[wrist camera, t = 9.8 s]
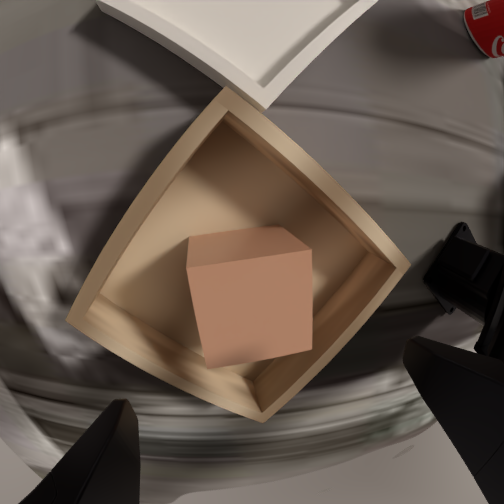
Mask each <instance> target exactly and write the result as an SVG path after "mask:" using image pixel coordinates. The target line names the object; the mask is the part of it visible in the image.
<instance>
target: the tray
mask: <svg viewBox="0 0 504 504" xmlns="http://www.w3.org/2000/svg"><path fill="white" fill-rule="evenodd" d="M95 1H96V3H97V5H98V6H99V8H100V9H101V11H102V12H104V13H106V14H108V15H110V16H112V17H114V18H115V19H117V20H119V21H121V22H123V23H125V24H126V25H128V26H130V27H132V28H133V29H135V30H137V31H139V32H140V33H142V34H144V35H145V36H147V37H149V38H150V39H152V40H154V41H155V42H157V43H158V44H160V45H162V46H163V47H165V48H166V49H168V50H169V51H171V52H173V53H174V54H176V55H177V56H179V57H180V58H182V59H183V60H185V61H186V62H188V63H189V64H190V65H192V66H193V67H195V68H196V69H198V70H199V71H201V72H202V73H203V74H205V75H206V76H208V77H209V78H210V79H212V80H213V81H214V82H216V83H217V84H219V85H220V86H221V87H223V88H224V87H225V86H227V87H228V88H230V89H231V90H232V91H234V92H235V93H236V94H238V95H239V96H240V97H241V98H243V99H244V100H245V101H246V102H248V103H249V104H250V105H252V106H253V107H254V108H255V109H256V110H258V111H259V112H260V113H262V112H263V111H264V110H266V109H267V108H268V107H269V106H270V104H271V103H272V102H273V101H274V100H275V99H276V98H277V97H278V96H279V95H280V94H281V93H282V91H283V90H284V89H285V88H286V87H287V86H288V85H289V84H290V83H291V82H292V81H293V80H294V79H295V78H296V77H297V76H298V75H299V74H300V73H301V72H302V71H303V70H304V69H305V68H306V67H307V66H308V65H309V64H310V63H311V62H312V61H313V60H314V59H315V58H316V57H317V56H318V55H319V54H320V53H321V52H322V51H323V50H324V49H325V48H326V47H327V46H328V45H329V44H330V43H331V42H332V41H333V40H334V39H335V38H336V37H337V36H339V35H340V34H341V33H342V32H343V31H344V30H345V29H346V28H347V27H348V26H349V25H351V24H352V23H353V22H354V21H355V20H356V19H357V18H358V17H360V16H361V15H362V14H363V13H364V12H365V11H367V10H368V9H369V8H370V7H371V6H372V5H374V4H375V3H376V2H377V1H378V0H95Z"/></svg>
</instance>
